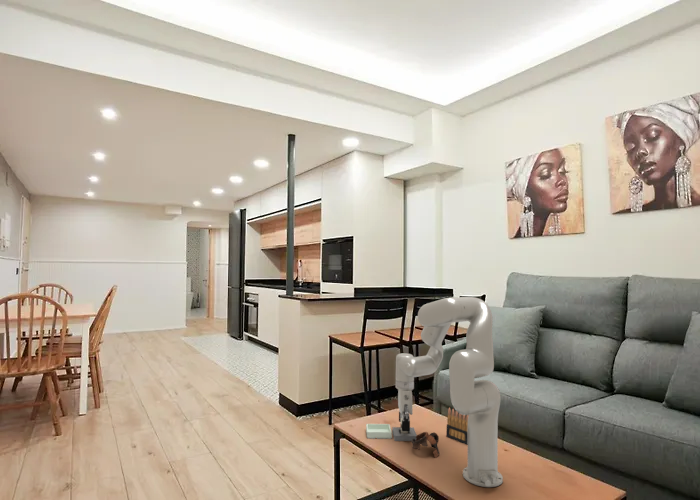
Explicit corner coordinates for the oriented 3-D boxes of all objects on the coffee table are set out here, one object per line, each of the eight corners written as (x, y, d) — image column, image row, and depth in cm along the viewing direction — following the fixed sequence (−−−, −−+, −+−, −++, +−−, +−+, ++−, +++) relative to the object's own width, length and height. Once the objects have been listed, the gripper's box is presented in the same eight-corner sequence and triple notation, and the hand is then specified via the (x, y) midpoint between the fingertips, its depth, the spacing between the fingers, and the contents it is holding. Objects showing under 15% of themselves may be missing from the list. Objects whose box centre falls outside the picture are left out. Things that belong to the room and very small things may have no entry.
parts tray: (391, 438, 165) (391, 432, 165) (367, 438, 165) (367, 432, 165) (389, 430, 174) (389, 424, 174) (366, 429, 174) (366, 423, 174)
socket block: (417, 441, 163) (417, 436, 163) (394, 440, 163) (394, 435, 163) (413, 432, 172) (413, 427, 172) (392, 431, 172) (392, 427, 172)
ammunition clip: (471, 444, 161) (471, 413, 162) (468, 445, 160) (468, 414, 160) (448, 435, 169) (448, 406, 170) (446, 436, 168) (446, 407, 169)
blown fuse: (408, 438, 166) (409, 415, 166) (400, 438, 166) (401, 415, 166) (407, 434, 169) (407, 412, 170) (399, 434, 169) (400, 412, 170)
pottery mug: (433, 462, 146) (421, 441, 147) (415, 466, 152) (404, 445, 154) (449, 444, 155) (438, 424, 156) (431, 447, 161) (421, 428, 162)
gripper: (417, 390, 160) (416, 434, 159) (410, 378, 177) (410, 418, 177) (398, 390, 160) (397, 434, 159) (393, 378, 177) (392, 418, 177)
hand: (404, 426), depth 168 cm, fingers open, 9 cm apart
